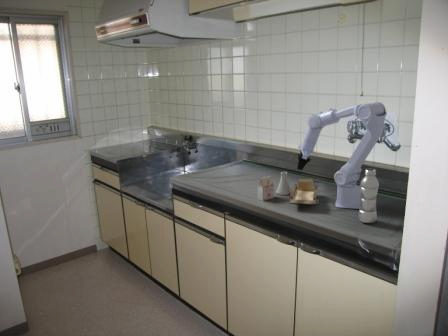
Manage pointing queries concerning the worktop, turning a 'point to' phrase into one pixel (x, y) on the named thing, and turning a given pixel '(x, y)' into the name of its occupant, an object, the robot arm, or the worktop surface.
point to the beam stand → (308, 204)
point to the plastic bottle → (368, 197)
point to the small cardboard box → (303, 196)
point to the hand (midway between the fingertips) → (300, 165)
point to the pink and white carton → (265, 188)
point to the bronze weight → (305, 184)
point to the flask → (283, 185)
